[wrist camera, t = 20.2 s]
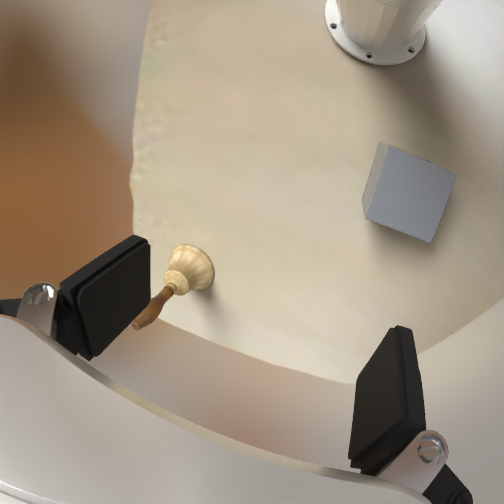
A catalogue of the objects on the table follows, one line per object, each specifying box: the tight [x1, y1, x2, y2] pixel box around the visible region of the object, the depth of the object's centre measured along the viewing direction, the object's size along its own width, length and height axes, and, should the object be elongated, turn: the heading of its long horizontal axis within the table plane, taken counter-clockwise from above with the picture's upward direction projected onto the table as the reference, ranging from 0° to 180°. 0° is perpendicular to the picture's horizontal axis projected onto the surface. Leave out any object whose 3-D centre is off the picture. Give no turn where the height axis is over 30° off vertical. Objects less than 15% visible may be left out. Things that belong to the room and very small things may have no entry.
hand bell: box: [132, 245, 214, 330], centre depth 40 cm, size 8×8×16 cm
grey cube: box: [362, 142, 456, 243], centre depth 28 cm, size 8×8×8 cm
